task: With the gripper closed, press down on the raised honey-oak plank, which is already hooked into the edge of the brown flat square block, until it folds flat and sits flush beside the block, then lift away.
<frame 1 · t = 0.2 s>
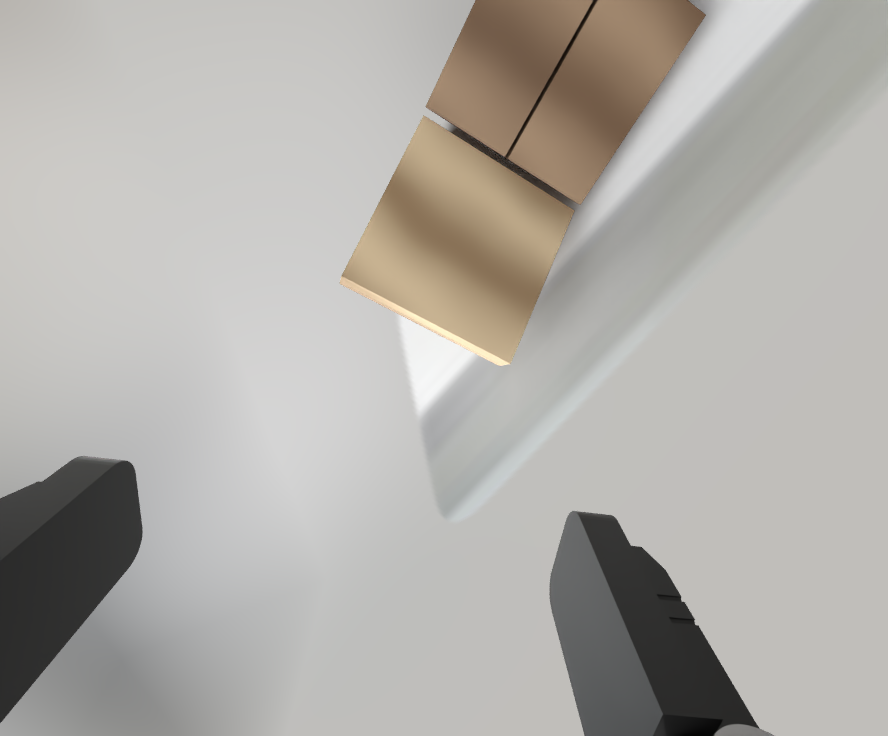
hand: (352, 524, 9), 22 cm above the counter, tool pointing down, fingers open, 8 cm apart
oak plank: (462, 245, 25), point 4 cm above the counter, hinge at 35.0°
brown flat square block: (553, 66, 24), on the counter
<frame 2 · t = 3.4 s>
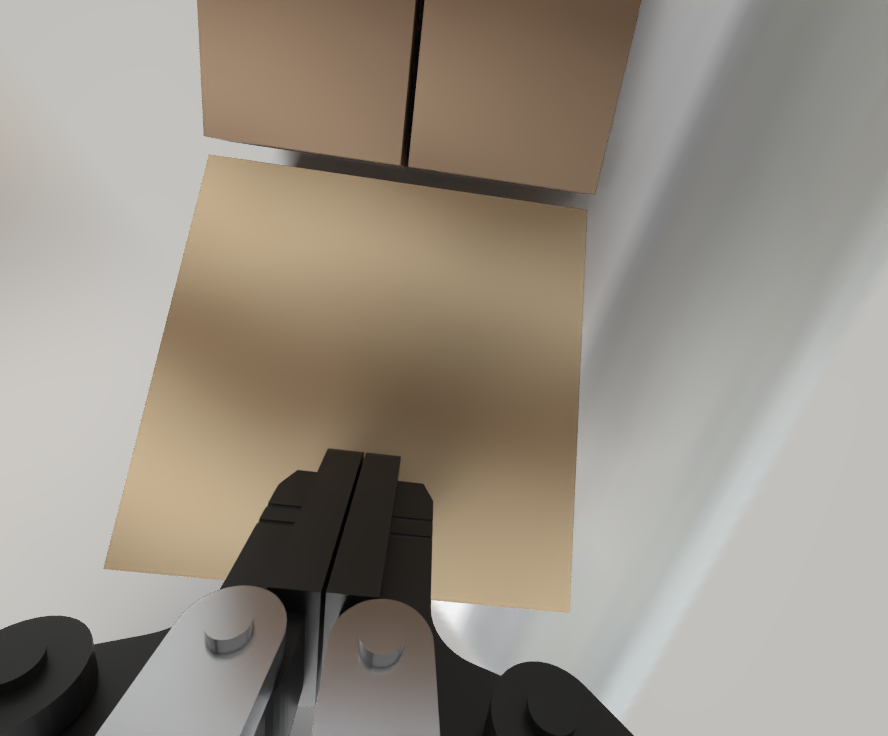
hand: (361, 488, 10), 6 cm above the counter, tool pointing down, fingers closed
oak plank: (377, 373, 11), point 4 cm above the counter, hinge at 34.2°, touching gripper
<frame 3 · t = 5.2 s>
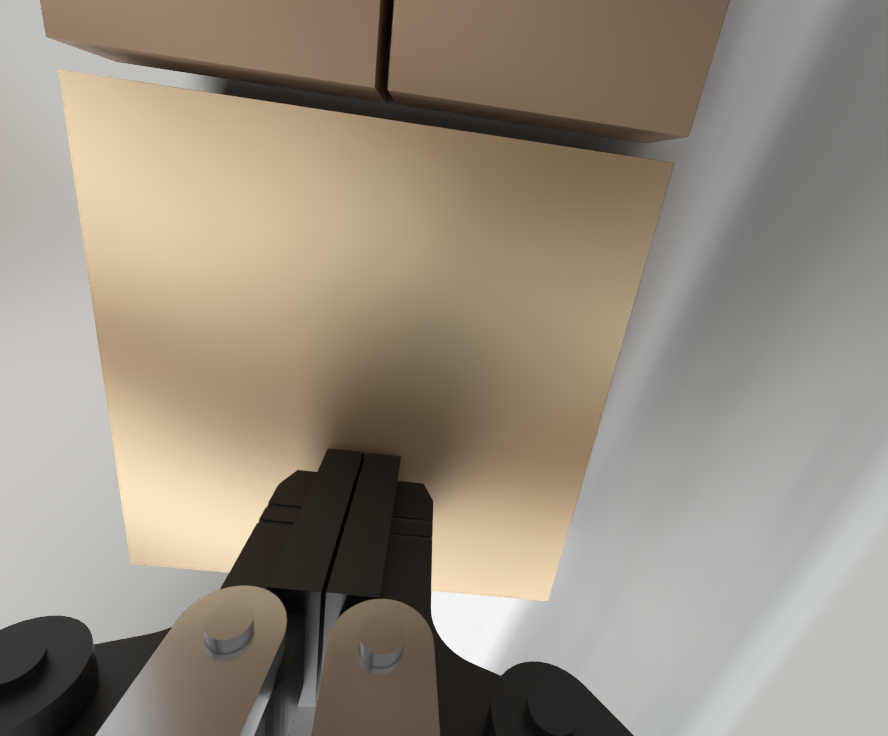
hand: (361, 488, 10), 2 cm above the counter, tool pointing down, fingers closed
oak plank: (364, 380, 10), point 1 cm above the counter, hinge at 1.2°
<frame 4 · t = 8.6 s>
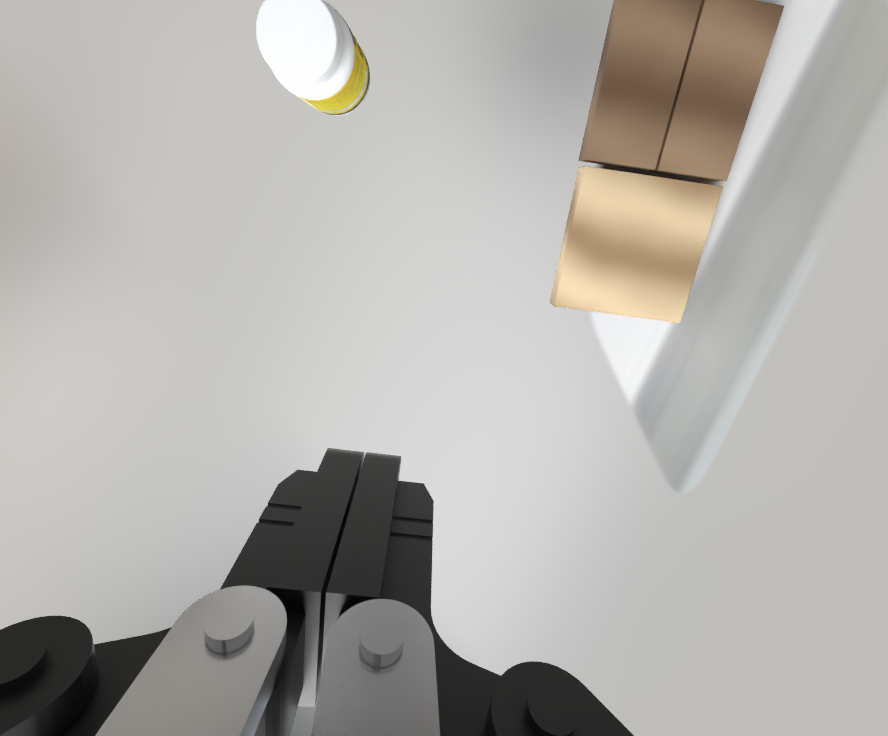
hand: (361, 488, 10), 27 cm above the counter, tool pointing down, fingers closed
oak plank: (631, 248, 33), point 1 cm above the counter, hinge at 1.2°
brown flat square block: (668, 91, 31), on the counter
supplement bottle: (335, 76, 30), on the counter
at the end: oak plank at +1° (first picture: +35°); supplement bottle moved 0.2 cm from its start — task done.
